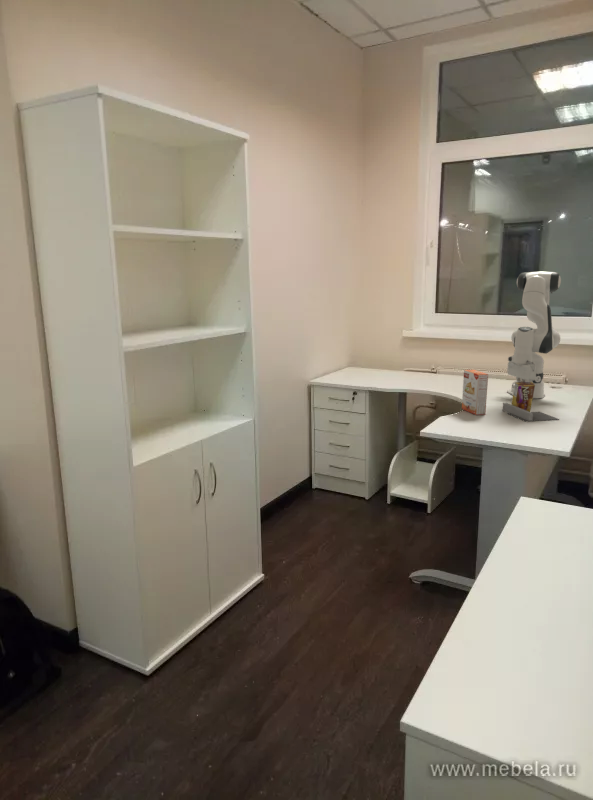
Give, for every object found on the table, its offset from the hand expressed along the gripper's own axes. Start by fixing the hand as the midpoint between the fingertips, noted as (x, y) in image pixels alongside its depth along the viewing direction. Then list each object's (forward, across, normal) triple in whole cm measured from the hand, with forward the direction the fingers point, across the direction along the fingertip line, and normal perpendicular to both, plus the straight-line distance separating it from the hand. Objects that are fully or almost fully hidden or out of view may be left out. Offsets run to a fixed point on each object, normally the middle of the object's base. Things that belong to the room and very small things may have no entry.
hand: (520, 386), depth 291 cm
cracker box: (+13, +3, +24) cm, 27 cm away
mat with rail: (+13, -9, 0) cm, 16 cm away
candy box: (+13, -1, 0) cm, 13 cm away
